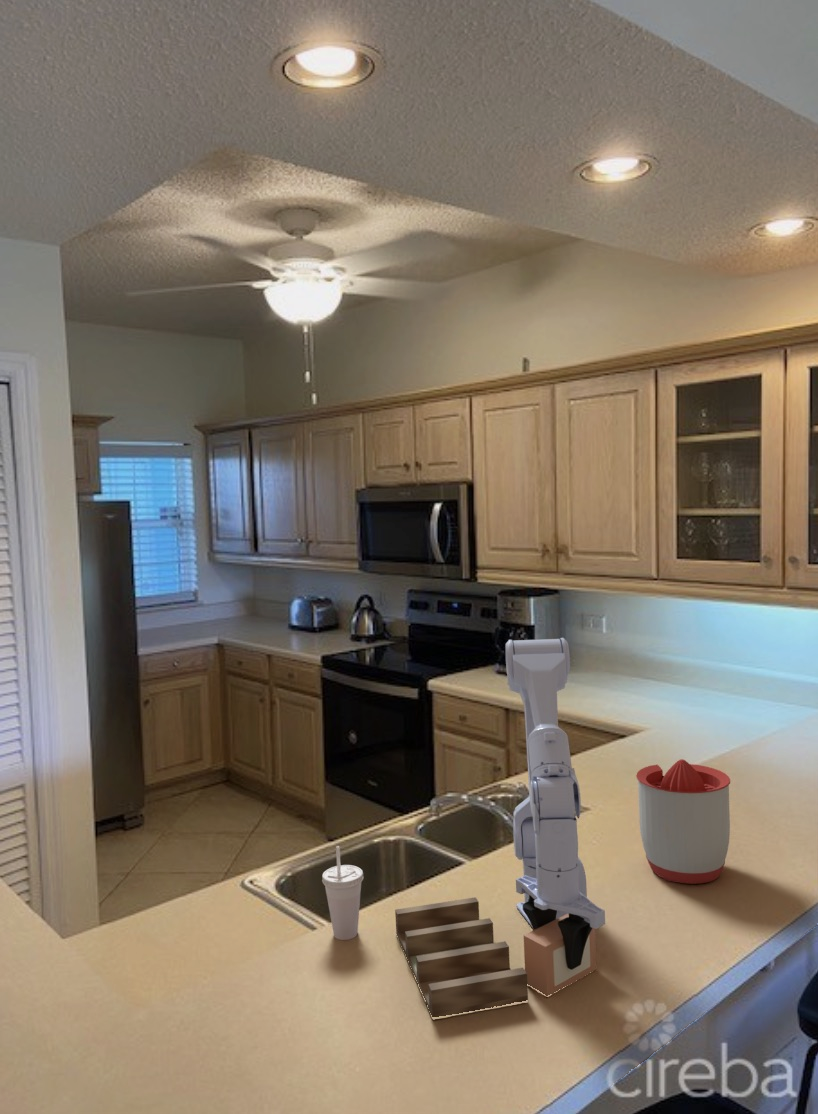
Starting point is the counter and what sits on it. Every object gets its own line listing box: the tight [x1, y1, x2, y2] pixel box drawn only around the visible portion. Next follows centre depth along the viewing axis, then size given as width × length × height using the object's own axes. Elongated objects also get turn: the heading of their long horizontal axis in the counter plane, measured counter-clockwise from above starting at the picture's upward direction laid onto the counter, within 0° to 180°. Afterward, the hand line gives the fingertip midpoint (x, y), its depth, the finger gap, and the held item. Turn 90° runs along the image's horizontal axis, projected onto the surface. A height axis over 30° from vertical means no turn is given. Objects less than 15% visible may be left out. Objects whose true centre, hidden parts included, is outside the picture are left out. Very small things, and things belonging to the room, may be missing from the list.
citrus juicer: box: [635, 758, 731, 885], centre depth 145 cm, size 16×17×20 cm
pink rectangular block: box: [523, 913, 597, 996], centre depth 114 cm, size 4×10×7 cm, turn 128°
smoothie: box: [321, 845, 364, 941], centre depth 128 cm, size 6×6×14 cm
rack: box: [394, 897, 529, 1017], centre depth 118 cm, size 13×22×4 cm, turn 13°
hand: (560, 959), depth 114 cm, fingers closed on pink rectangular block, 4 cm apart
